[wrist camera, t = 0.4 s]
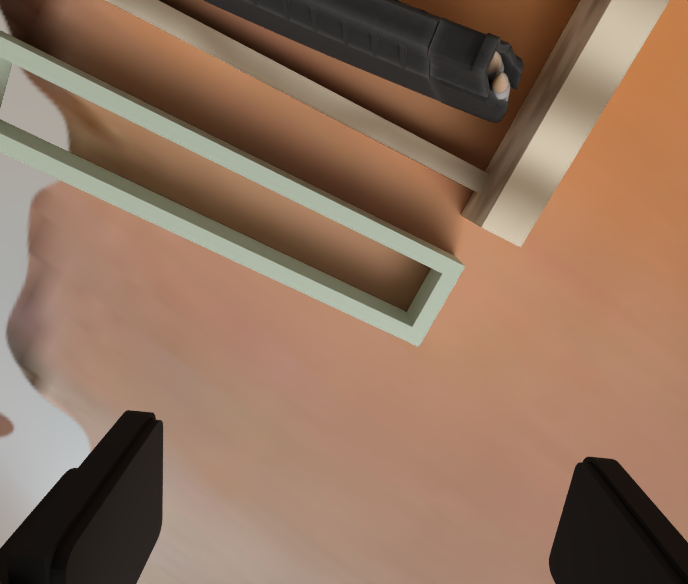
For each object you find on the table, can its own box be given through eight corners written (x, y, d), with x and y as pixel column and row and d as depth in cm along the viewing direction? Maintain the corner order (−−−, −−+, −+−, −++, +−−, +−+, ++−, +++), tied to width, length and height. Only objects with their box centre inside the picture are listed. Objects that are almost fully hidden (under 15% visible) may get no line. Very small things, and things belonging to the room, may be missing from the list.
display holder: (1, 31, 34) (-36, 18, 31) (454, 255, 39) (465, 266, 35) (-23, 126, 36) (-61, 124, 33) (412, 330, 40) (418, 346, 37)
